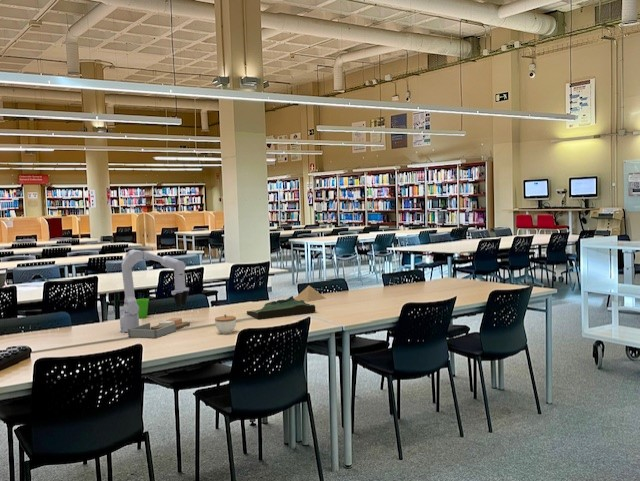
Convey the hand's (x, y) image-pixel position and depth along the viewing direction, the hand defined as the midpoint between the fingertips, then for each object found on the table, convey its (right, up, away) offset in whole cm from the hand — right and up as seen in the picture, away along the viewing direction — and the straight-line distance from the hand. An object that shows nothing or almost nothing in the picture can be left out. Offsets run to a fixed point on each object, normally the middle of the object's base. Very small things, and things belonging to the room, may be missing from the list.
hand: (181, 305), depth 340 cm
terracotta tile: (-2, -9, -6) cm, 12 cm away
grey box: (-9, -12, -25) cm, 29 cm away
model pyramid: (+71, -4, +72) cm, 101 cm away
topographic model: (+55, -8, +20) cm, 59 cm away
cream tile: (-5, -10, -13) cm, 17 cm away
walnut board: (-3, -11, -10) cm, 15 cm away
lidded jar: (+30, -11, -29) cm, 43 cm away
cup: (-30, -10, +26) cm, 41 cm away
